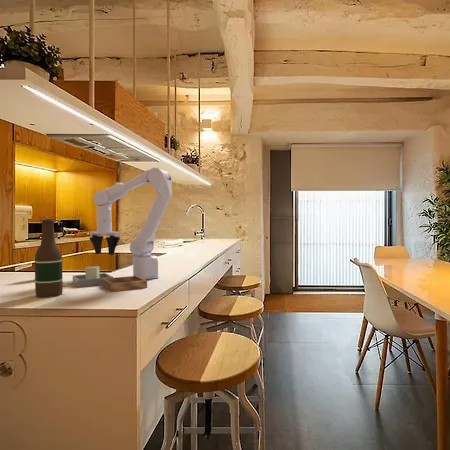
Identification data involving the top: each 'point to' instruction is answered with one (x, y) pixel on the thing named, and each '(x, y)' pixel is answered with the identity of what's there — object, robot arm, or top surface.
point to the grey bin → (89, 280)
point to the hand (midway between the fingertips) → (104, 254)
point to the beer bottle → (48, 264)
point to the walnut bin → (124, 283)
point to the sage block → (92, 272)
